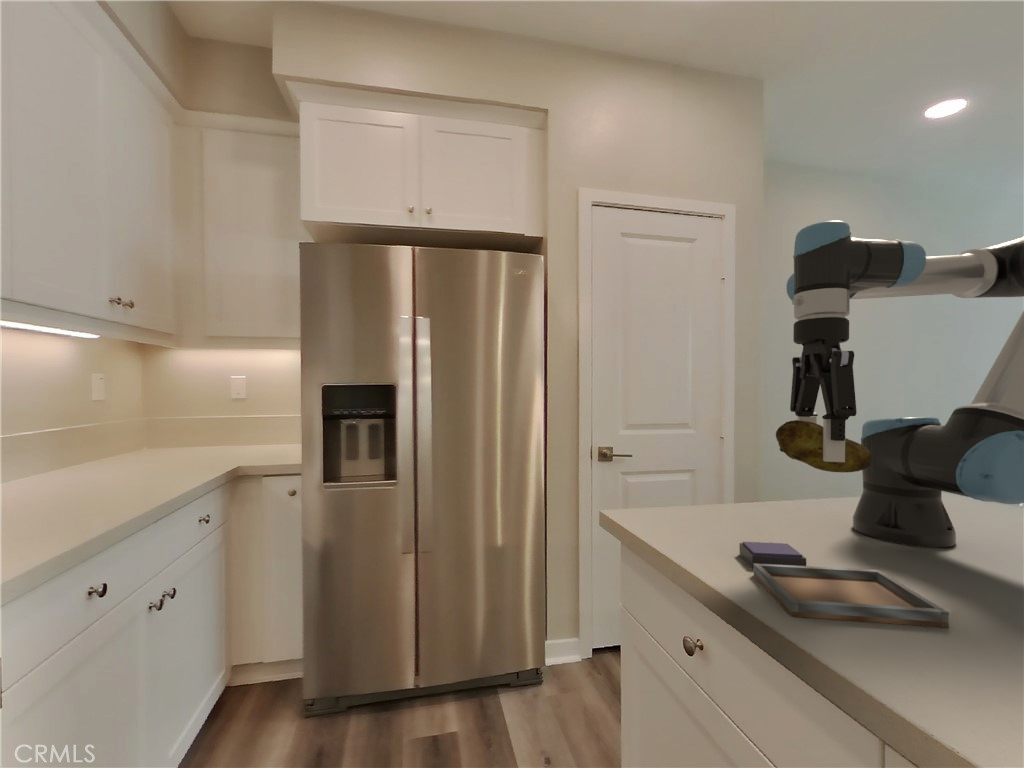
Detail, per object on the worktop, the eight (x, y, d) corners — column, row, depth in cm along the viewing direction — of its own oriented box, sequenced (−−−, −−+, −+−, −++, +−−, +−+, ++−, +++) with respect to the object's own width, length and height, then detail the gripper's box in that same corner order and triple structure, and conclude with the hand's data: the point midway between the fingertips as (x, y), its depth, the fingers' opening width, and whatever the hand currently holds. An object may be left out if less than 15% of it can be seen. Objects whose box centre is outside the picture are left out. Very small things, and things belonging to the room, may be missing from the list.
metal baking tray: (879, 582, 65) (879, 570, 65) (949, 627, 53) (948, 612, 53) (753, 574, 68) (753, 563, 68) (791, 616, 56) (790, 602, 56)
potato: (874, 480, 64) (875, 425, 64) (773, 468, 72) (773, 420, 72) (870, 471, 71) (871, 422, 71) (778, 461, 78) (779, 417, 78)
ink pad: (789, 556, 75) (788, 542, 75) (806, 571, 69) (806, 556, 69) (739, 554, 77) (739, 540, 77) (752, 568, 71) (752, 553, 71)
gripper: (769, 328, 82) (768, 448, 82) (831, 307, 62) (830, 467, 62) (812, 328, 81) (811, 450, 81) (889, 307, 61) (888, 469, 61)
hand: (819, 457), depth 71 cm, fingers closed on potato, 7 cm apart
